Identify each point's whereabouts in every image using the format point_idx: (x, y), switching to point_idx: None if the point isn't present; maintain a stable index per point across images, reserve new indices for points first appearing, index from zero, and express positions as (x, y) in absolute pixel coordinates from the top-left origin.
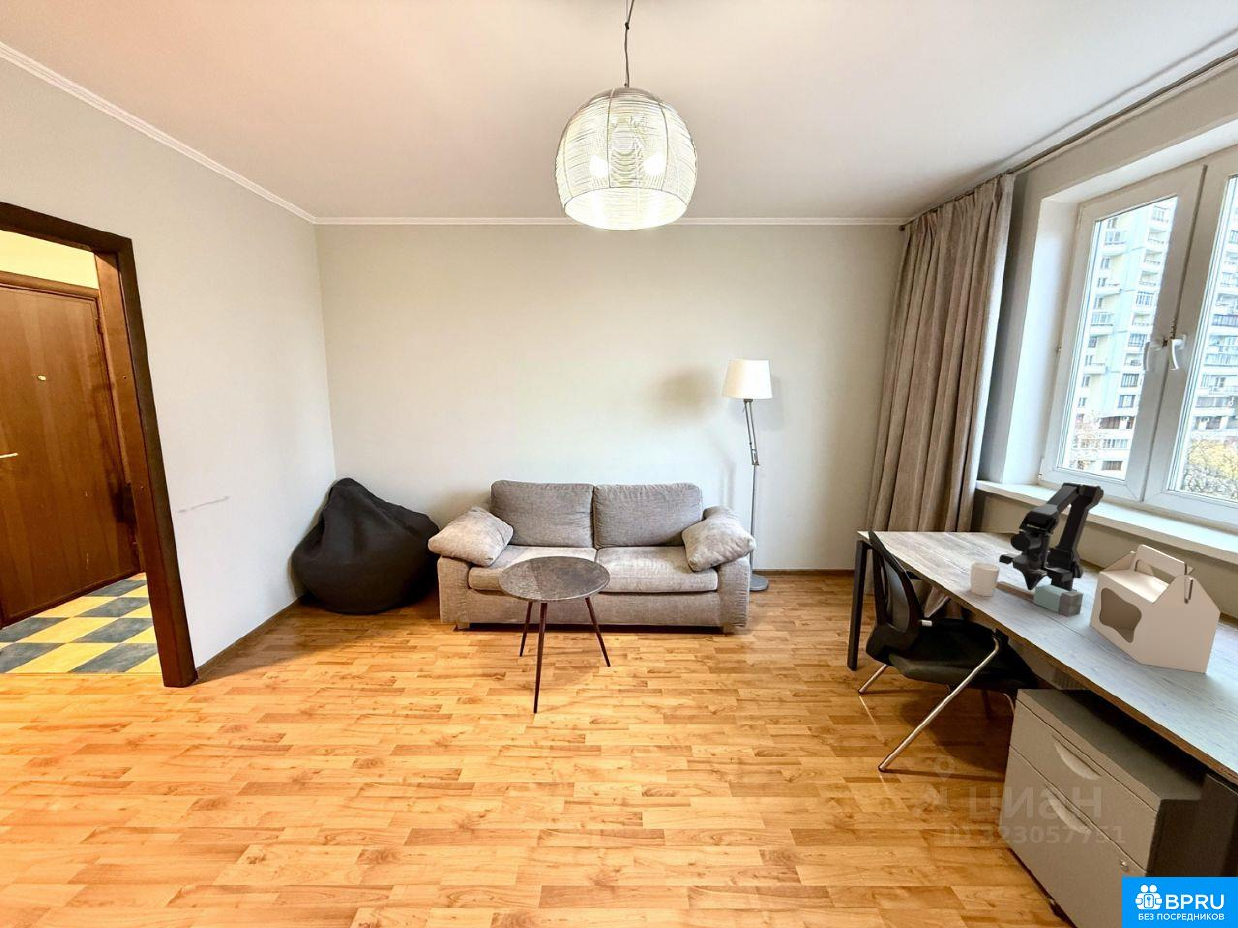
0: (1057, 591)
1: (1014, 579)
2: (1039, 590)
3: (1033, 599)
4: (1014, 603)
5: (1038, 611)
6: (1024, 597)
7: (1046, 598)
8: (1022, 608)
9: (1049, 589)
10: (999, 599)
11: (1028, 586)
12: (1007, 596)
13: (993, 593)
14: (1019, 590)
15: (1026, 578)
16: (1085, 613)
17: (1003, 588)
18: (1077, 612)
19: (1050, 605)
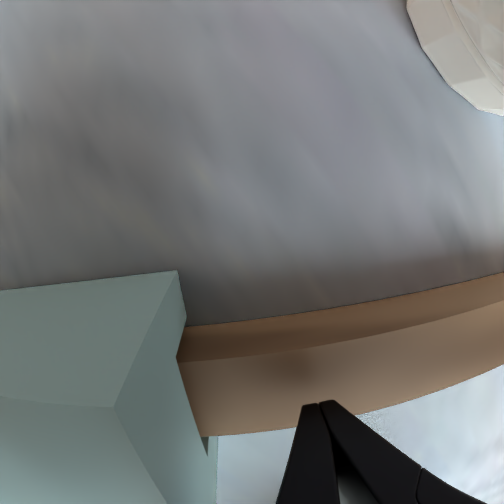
0: (5, 478)
1: (478, 458)
2: (62, 377)
3: (170, 286)
4: (222, 60)
5: (33, 146)
6: (310, 314)
7: (22, 330)
8: (109, 41)
9: (43, 476)
10: (337, 8)
11: (337, 425)
12: (384, 167)
13: (428, 30)
14: (388, 334)
15: (418, 501)
16: None
17: (484, 283)
18: None
19: (21, 302)
